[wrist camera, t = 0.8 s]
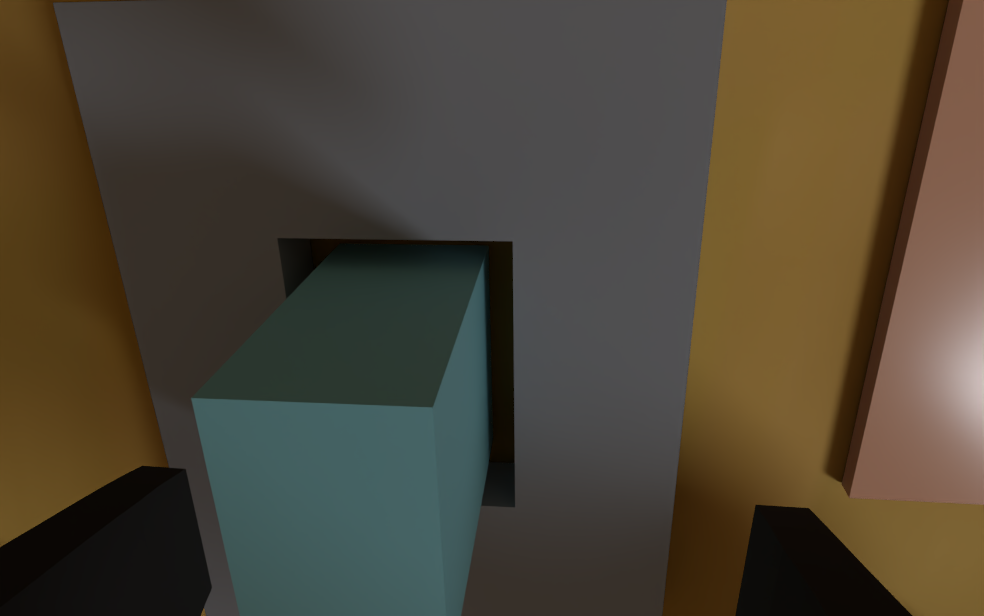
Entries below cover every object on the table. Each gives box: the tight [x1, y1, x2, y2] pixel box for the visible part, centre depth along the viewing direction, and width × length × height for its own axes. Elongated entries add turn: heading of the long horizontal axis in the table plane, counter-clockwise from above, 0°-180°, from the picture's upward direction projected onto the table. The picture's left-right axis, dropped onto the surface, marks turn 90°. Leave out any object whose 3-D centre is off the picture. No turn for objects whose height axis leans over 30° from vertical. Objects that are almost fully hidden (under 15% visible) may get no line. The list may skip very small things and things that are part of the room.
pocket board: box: [53, 0, 727, 616], centre depth 19 cm, size 18×14×2 cm
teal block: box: [191, 243, 493, 616], centre depth 16 cm, size 6×4×8 cm, turn 1°
